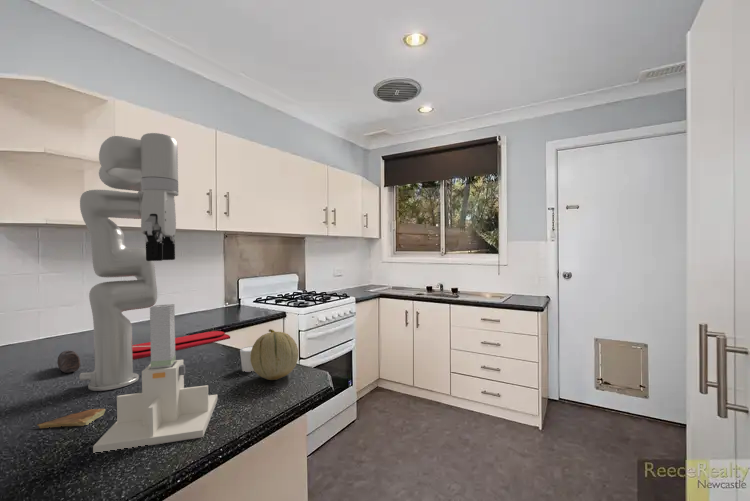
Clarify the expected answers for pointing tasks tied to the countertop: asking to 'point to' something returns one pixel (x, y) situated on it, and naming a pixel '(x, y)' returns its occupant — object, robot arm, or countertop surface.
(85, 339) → the countertop surface
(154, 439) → the cream stand
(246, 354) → the shot glass
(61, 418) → the shard
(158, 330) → the steel post
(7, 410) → the countertop surface
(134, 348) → the dish drying mat
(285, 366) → the cantaloupe
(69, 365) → the perforated stone tool
